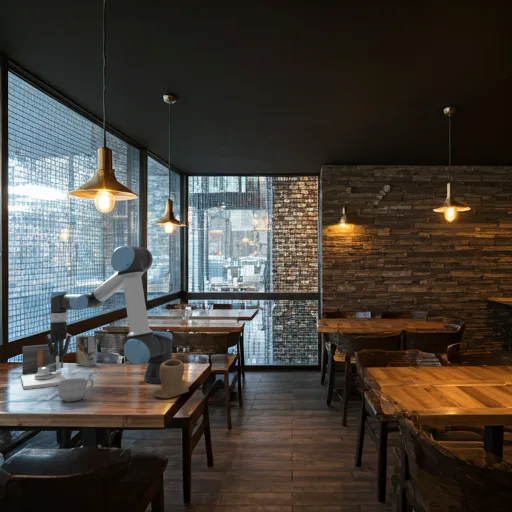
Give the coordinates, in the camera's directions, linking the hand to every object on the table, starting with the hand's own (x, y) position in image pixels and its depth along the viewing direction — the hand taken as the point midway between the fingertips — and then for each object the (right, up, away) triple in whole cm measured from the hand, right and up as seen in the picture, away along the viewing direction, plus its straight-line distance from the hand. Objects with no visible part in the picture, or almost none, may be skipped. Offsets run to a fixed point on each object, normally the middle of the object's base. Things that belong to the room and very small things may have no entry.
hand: (58, 368), depth 226 cm
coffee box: (+3, -5, +28) cm, 29 cm away
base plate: (-3, -4, -10) cm, 11 cm away
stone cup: (+64, -3, -35) cm, 73 cm away
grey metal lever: (-2, -2, -4) cm, 5 cm away
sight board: (-14, -4, +9) cm, 17 cm away
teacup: (+25, -3, -40) cm, 47 cm away
